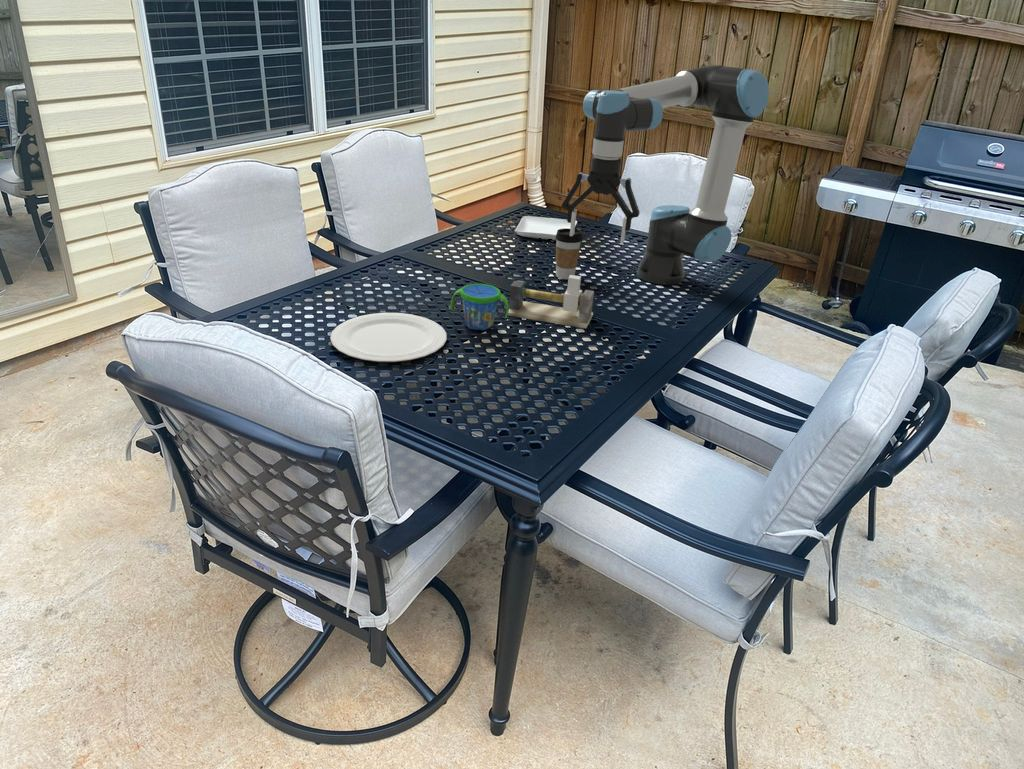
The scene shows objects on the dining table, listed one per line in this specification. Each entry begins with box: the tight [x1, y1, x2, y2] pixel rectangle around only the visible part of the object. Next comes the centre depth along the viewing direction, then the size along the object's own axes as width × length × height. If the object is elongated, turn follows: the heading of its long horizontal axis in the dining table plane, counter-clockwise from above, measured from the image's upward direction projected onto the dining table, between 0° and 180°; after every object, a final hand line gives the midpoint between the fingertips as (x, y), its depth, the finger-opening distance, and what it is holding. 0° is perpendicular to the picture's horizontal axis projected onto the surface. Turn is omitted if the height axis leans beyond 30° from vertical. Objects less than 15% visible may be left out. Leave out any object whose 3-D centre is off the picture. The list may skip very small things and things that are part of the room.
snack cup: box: [450, 283, 509, 331], centre depth 197 cm, size 16×10×10 cm
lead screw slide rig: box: [507, 280, 595, 329], centre depth 207 cm, size 23×10×8 cm, turn 74°
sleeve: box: [562, 274, 583, 313], centre depth 203 cm, size 4×5×9 cm
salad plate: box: [514, 215, 578, 241], centre depth 277 cm, size 21×21×3 cm
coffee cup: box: [555, 229, 583, 280], centre depth 234 cm, size 8×8×15 cm
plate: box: [330, 312, 448, 363], centre depth 188 cm, size 29×29×2 cm
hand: (596, 238), depth 197 cm, fingers open, 13 cm apart
